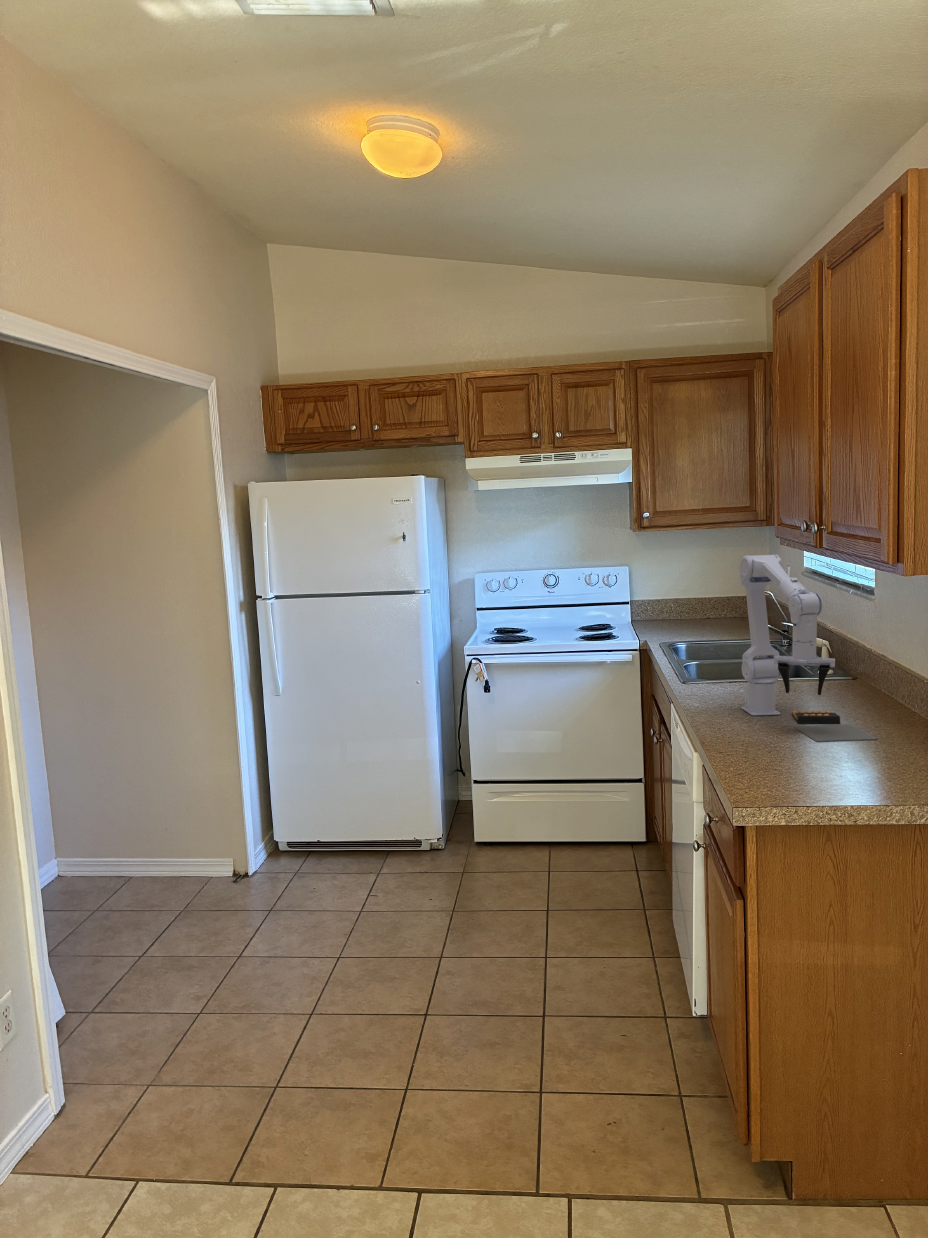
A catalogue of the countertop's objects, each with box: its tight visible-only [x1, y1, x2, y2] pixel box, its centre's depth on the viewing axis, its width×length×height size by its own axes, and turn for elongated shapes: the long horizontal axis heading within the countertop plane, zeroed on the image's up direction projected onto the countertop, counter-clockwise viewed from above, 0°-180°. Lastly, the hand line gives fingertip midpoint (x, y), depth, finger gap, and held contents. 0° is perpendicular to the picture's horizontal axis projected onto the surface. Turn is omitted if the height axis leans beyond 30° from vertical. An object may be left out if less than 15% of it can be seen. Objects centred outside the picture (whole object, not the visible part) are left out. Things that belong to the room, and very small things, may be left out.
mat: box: [793, 723, 878, 743], centre depth 235 cm, size 15×15×1 cm
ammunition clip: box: [791, 709, 841, 724], centre depth 251 cm, size 11×2×12 cm
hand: (803, 693), depth 237 cm, fingers open, 7 cm apart
